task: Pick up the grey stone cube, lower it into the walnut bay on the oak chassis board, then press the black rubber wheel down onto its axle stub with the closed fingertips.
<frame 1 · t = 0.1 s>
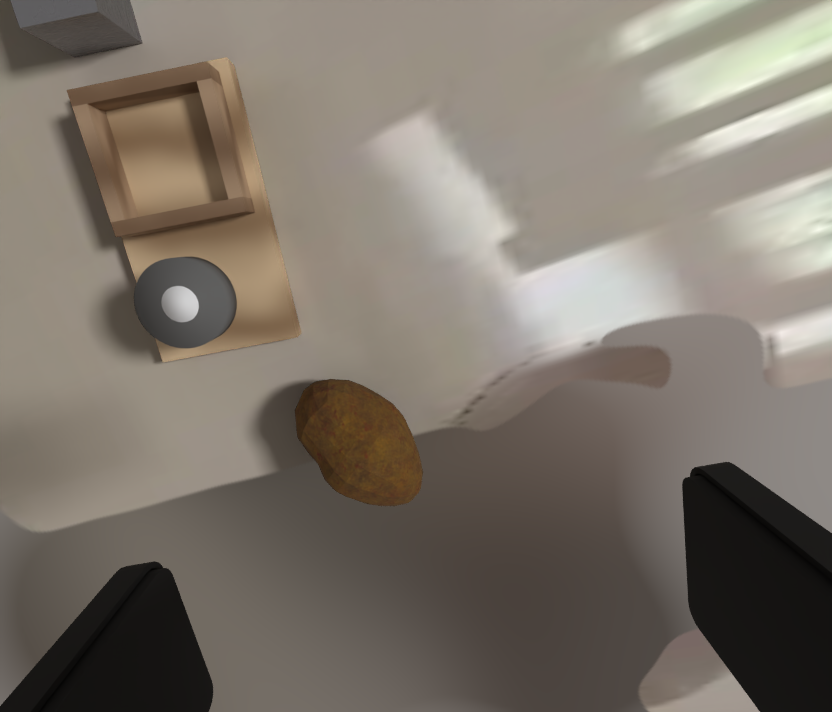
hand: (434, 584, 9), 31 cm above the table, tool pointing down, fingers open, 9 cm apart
wheel: (187, 302, 32), point 6 cm above the table, slide at 2.5 cm
chassis: (200, 221, 37), on the table
potato: (366, 425, 41), on the table
grey stone cube: (97, 11, 33), on the table
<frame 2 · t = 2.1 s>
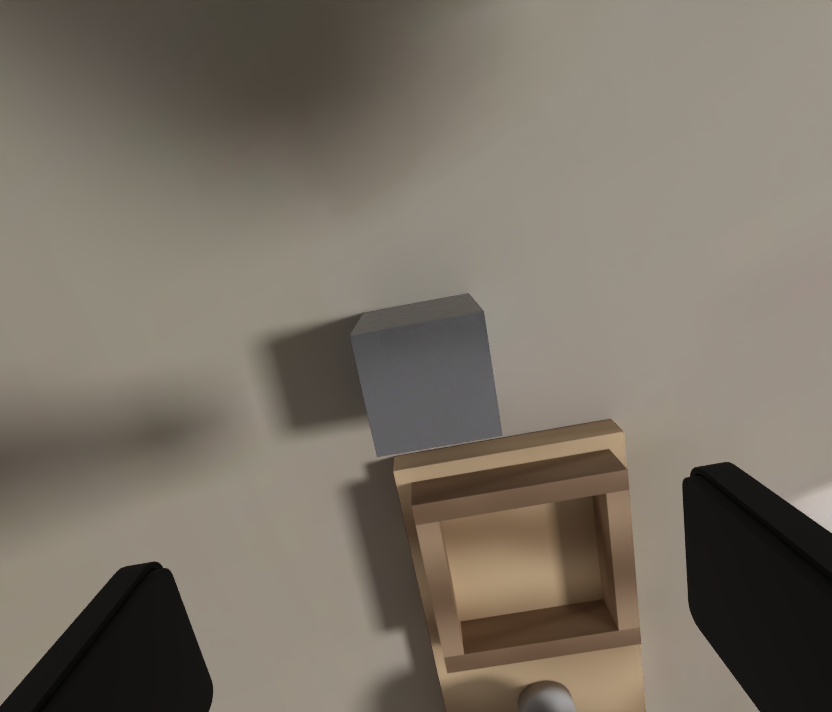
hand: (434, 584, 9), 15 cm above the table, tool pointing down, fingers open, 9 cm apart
chassis: (526, 600, 26), on the table
grey stone cube: (425, 353, 23), on the table
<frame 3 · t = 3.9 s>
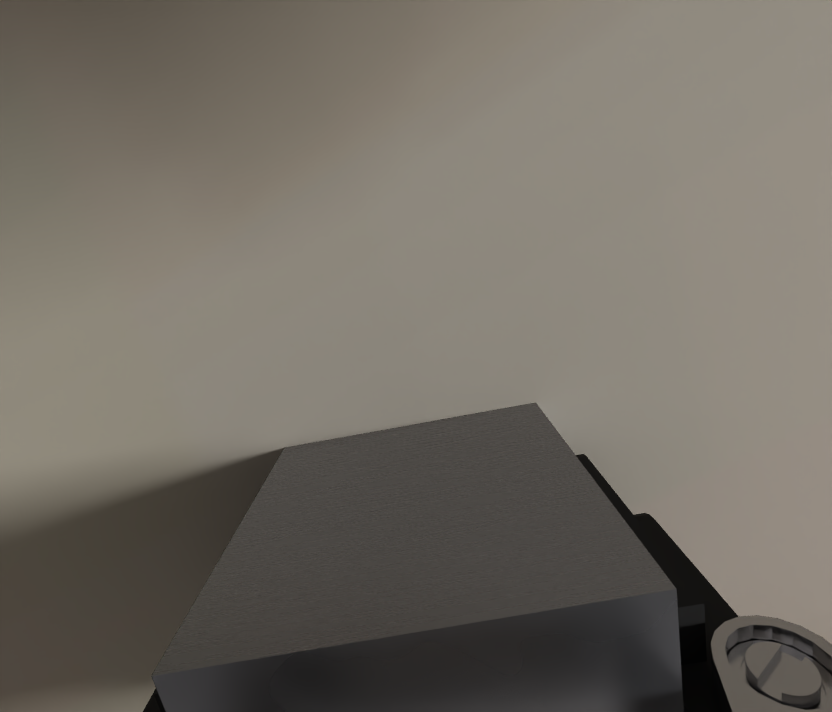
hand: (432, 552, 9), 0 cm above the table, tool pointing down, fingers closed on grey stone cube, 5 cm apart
grey stone cube: (431, 535, 10), on the table, touching gripper
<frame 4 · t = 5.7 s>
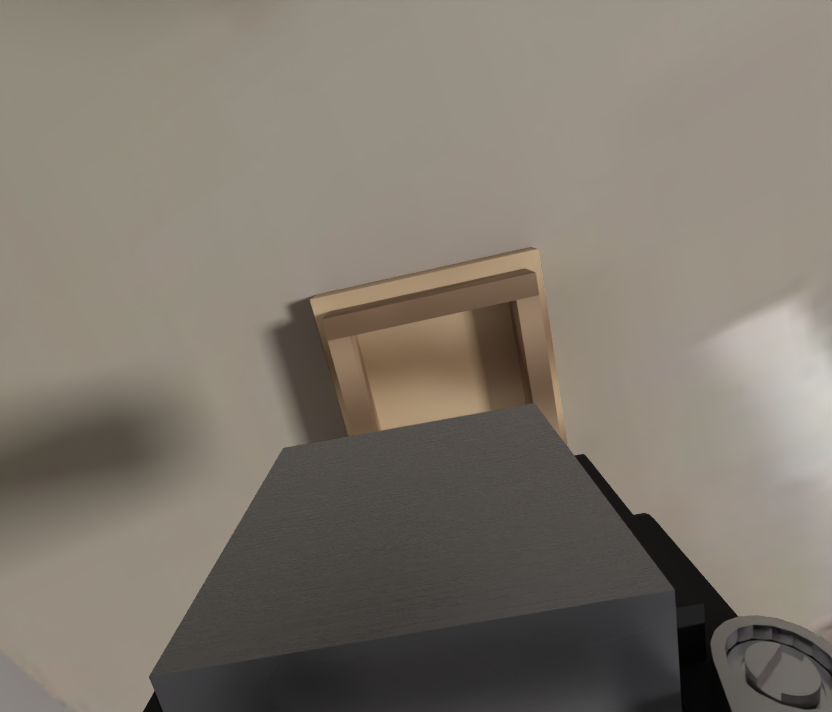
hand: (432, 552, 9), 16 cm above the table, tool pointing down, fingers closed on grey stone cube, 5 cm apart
chassis: (460, 449, 26), on the table
grey stone cube: (430, 535, 10), point 16 cm above the table, touching gripper
when the fingers open (4 cm above the table, at t = 7.5 s): grey stone cube drops 2 cm, resting on chassis.
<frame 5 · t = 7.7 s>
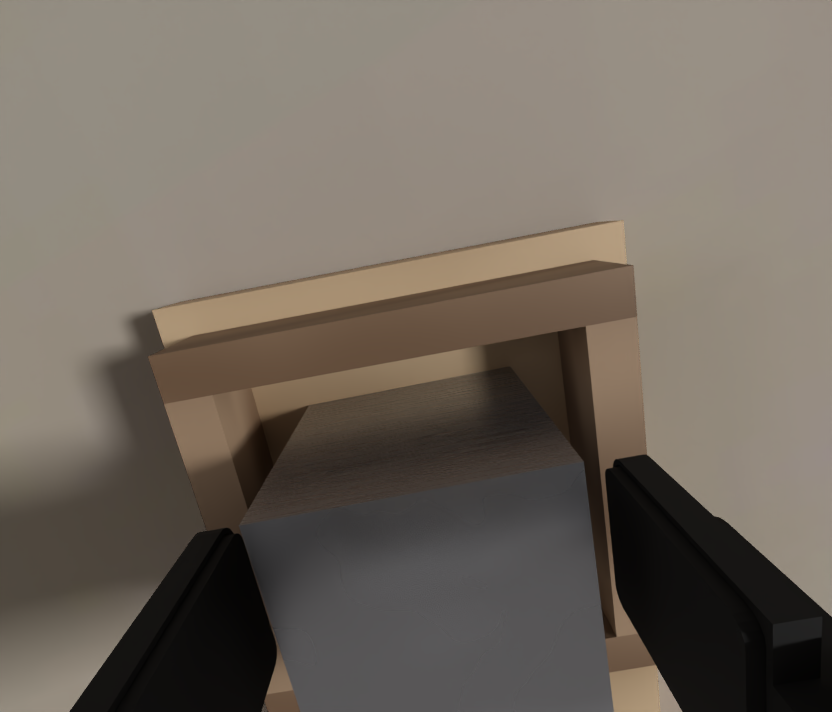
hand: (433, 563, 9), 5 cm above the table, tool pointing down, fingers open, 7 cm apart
chassis: (450, 583, 15), on the table
grey stone cube: (428, 476, 12), point 1 cm above the table, touching chassis
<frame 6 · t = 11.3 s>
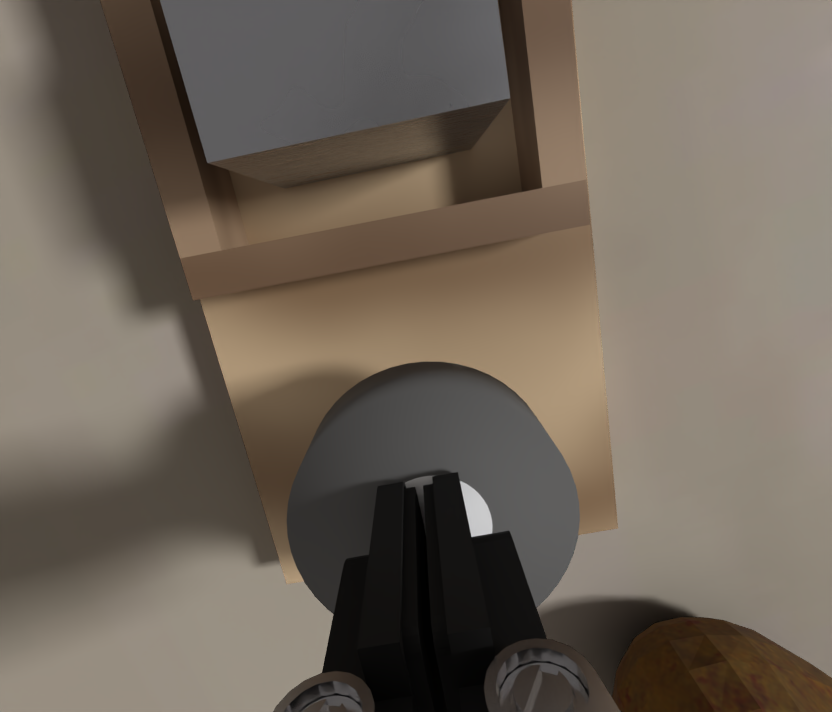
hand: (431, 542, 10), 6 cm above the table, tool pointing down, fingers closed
wheel: (431, 502, 11), point 5 cm above the table, slide at 1.8 cm, touching gripper
chassis: (391, 247, 14), on the table
potato: (702, 677, 19), on the table
grey stone cube: (355, 64, 12), point 1 cm above the table, touching chassis
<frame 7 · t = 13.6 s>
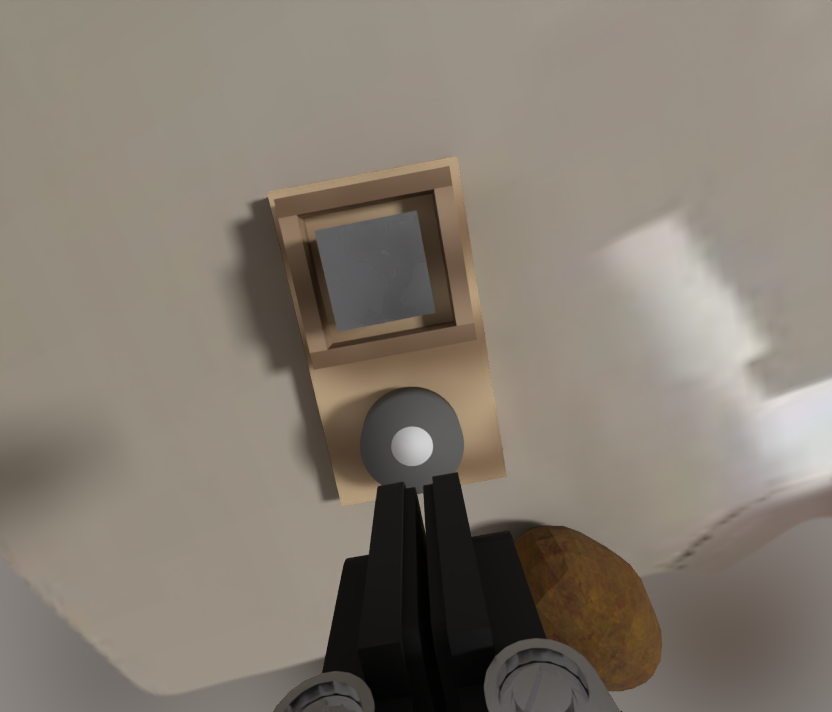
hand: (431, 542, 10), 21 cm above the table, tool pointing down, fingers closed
wheel: (411, 439, 28), point 4 cm above the table, slide at 0.0 cm, touching chassis
chassis: (395, 339, 31), on the table
potato: (566, 569, 35), on the table
grey stone cube: (381, 269, 28), point 1 cm above the table, touching chassis
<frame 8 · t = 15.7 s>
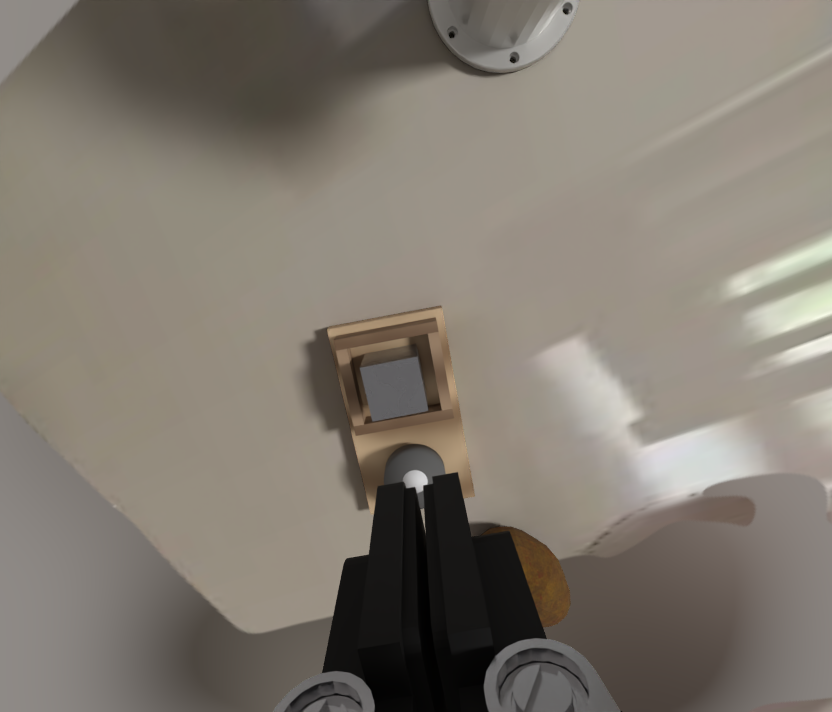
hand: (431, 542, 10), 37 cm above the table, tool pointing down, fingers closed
wheel: (414, 476, 46), point 4 cm above the table, slide at 0.0 cm, touching chassis
chassis: (404, 411, 48), on the table
potato: (516, 553, 53), on the table
grey stone cube: (395, 373, 46), point 1 cm above the table, touching chassis
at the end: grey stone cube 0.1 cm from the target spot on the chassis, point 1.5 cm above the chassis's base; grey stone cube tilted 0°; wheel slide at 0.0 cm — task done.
